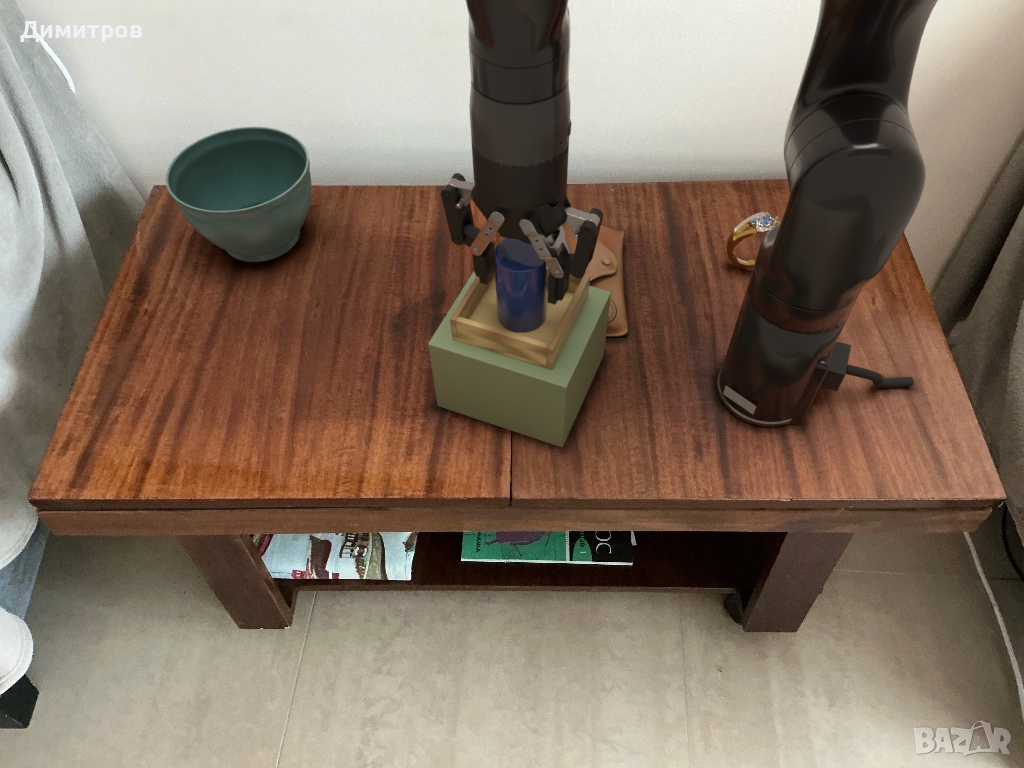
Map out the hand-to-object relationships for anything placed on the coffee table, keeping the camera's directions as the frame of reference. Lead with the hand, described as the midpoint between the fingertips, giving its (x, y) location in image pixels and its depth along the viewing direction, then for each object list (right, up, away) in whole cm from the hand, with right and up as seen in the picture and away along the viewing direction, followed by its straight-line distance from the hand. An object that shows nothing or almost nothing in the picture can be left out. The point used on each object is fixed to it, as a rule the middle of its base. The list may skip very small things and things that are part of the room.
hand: (521, 287), depth 72 cm
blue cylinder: (0, -2, +3) cm, 4 cm away
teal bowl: (-32, +9, +26) cm, 42 cm away
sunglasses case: (+9, +3, +20) cm, 22 cm away
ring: (+28, +5, +21) cm, 35 cm away
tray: (0, -2, +3) cm, 4 cm away
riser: (0, -9, +11) cm, 14 cm away
